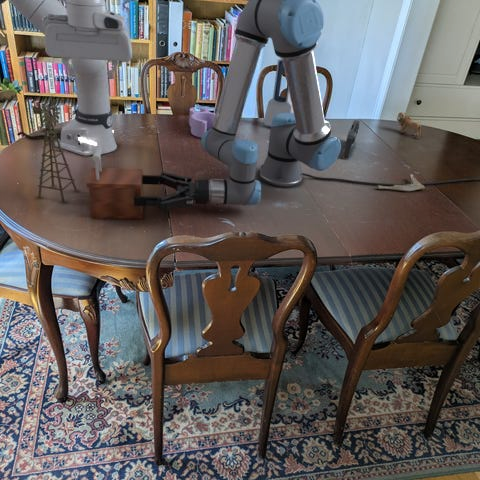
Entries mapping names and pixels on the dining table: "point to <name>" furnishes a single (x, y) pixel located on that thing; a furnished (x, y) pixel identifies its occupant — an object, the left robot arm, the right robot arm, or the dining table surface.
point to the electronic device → (278, 99)
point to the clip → (200, 121)
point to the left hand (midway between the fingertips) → (91, 77)
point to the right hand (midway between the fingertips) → (135, 189)
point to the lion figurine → (408, 124)
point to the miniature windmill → (52, 147)
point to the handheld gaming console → (351, 139)
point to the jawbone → (405, 186)
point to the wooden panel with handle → (113, 175)
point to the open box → (115, 202)
